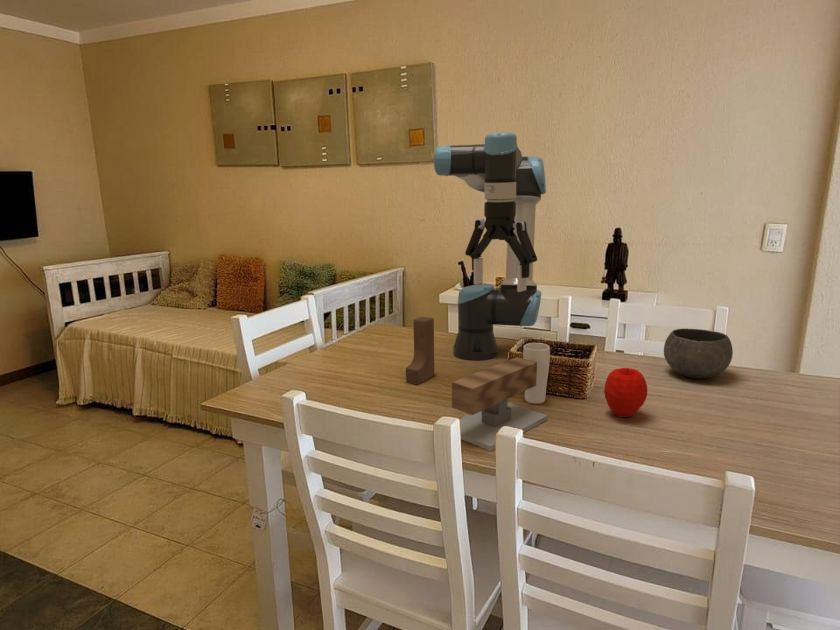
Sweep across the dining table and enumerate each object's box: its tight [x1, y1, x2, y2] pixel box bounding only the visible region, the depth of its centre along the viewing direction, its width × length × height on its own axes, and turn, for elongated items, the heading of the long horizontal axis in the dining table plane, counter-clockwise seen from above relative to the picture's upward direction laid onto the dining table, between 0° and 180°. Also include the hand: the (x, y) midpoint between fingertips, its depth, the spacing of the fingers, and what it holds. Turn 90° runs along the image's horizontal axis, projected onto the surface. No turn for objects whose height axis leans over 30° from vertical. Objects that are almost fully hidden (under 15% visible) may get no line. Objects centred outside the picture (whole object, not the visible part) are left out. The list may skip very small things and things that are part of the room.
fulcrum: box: [459, 399, 549, 452], centre depth 128 cm, size 22×14×8 cm, turn 134°
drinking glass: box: [522, 342, 551, 405], centre depth 142 cm, size 7×7×15 cm
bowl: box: [663, 328, 734, 380], centre depth 158 cm, size 18×18×13 cm
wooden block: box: [405, 316, 436, 385], centre depth 159 cm, size 9×4×18 cm, turn 146°
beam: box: [451, 356, 537, 415], centre depth 127 cm, size 24×6×6 cm, turn 134°
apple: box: [603, 367, 648, 418], centre depth 132 cm, size 10×10×12 cm
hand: (499, 287), depth 136 cm, fingers open, 13 cm apart
